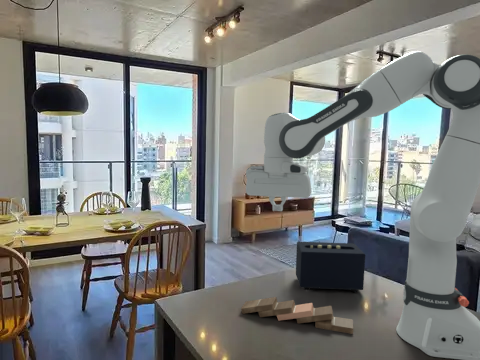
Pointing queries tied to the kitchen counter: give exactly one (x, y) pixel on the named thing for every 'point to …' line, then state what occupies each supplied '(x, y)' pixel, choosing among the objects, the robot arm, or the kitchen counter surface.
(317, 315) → the domino
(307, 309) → the domino
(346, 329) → the domino
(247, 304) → the domino
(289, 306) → the domino
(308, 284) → the speaker
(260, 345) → the kitchen counter surface
